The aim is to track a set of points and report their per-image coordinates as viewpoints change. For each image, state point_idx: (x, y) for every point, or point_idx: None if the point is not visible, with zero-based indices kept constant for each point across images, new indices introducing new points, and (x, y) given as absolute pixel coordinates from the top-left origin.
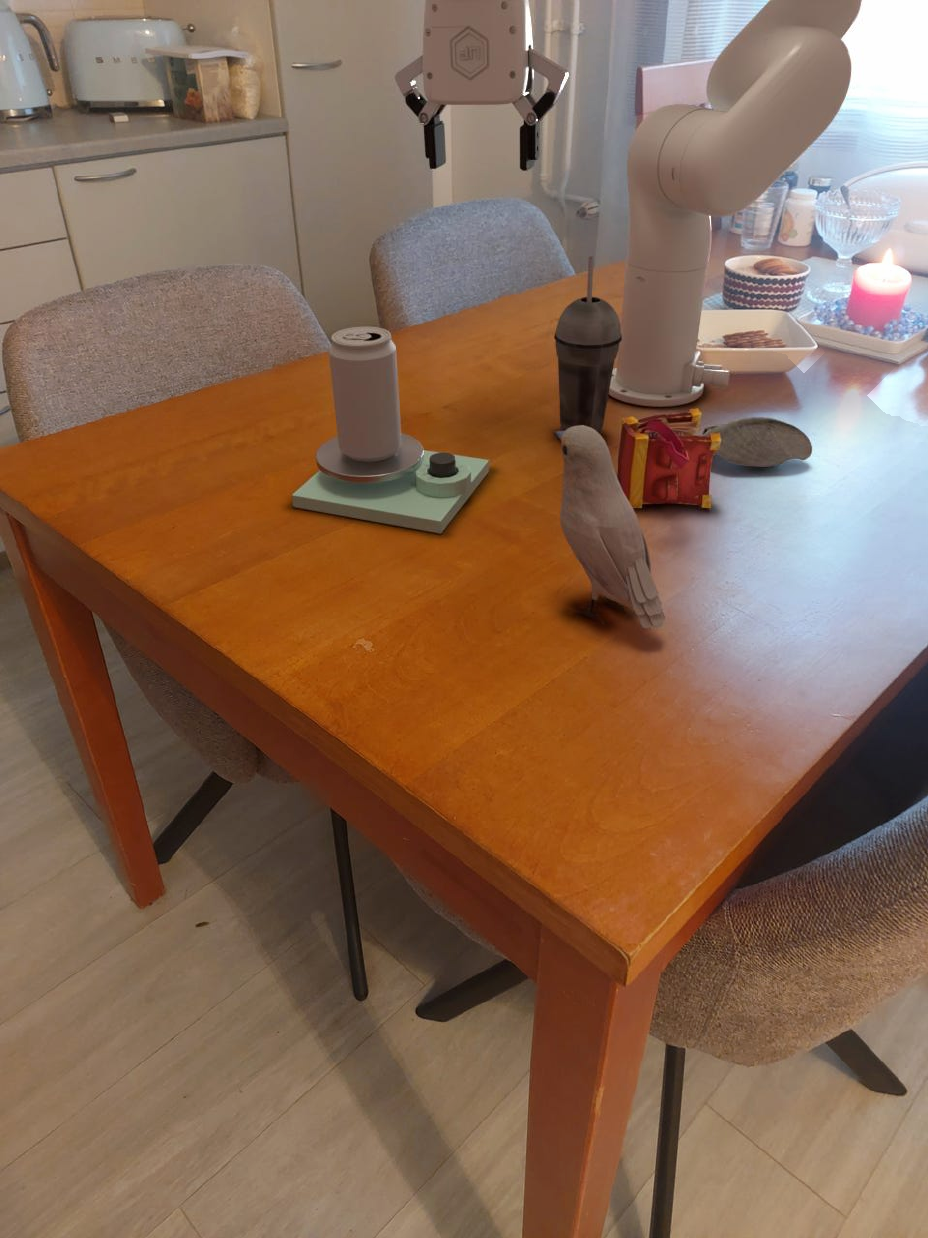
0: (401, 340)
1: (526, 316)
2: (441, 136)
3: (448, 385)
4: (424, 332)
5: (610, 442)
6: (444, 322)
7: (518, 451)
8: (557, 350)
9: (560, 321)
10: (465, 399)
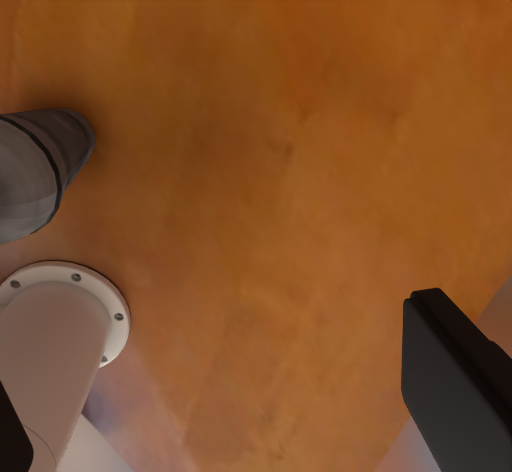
0: None
1: (318, 451)
2: (460, 463)
3: (318, 221)
4: None
5: None
6: None
7: (118, 46)
8: (42, 136)
9: (17, 154)
10: (275, 187)
